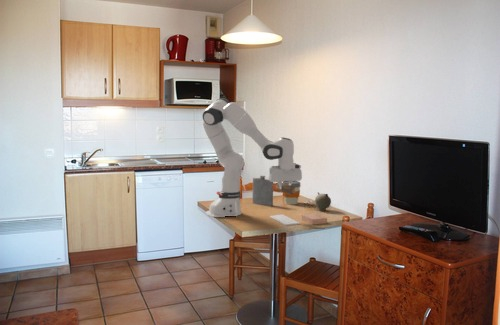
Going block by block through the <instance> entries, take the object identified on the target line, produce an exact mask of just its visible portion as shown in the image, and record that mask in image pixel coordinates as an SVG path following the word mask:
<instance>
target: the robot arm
mask: <svg viewBox="0 0 500 325" xmlns="http://www.w3.org/2000/svg"><path fill="white" fill-rule="evenodd" d="M253 119H254V118H252V116H251V115H250V114H249V113H248V112H247V111H246V110H245V109H244V108H243V107H242V106H240V105H239V104H238V103H236V102H233V101H231V102H230V100H229V99H227V98H223V97H222V98H218V99H216V100H215V101H214V102H212V103H210V105H208V107H207V108H205V110H204V111H203V112H202V120H203V122H202V125H203V128H204V131H205V134H206V136H207V138H208V139H209V142H210V143H211V145H212V147H213V149H214V151H215V155H216V157H217V160H218V163H219V164H220V166H221V167H223V168H224V172H223V176H222V178H221V191H218V190H217V191H216V194H217V195H218V197H217V198H216V199H215V200H214V201H212V202H211V203H210V204H209V210H206V211H205V215H206V216H207V217H211V218H226V217H225V216H236V217H238V216H240V215H242V214H243V212H242V209H241V201H240V200H241V191H240V185H241V184H240V182H241V180H240V179H241V175H242V170H243V167H244V166H245V159H244V157H243V156H242V154H240V153H238V152H235V151H234V149H233V147H232V144H231V139H230V137H229V135H228V133H227V132H226V130H225V128H224V126H223V124H222V122H223V121H225V120H226V121H228V122H229V123H230V124H231V125H232V126H233V127H234V128H235V129H236V130H237V131H238V132H240V133H241V134H242V135H243V134H244V135H246V136H248V137H250V138H251V139H252V140H253V141H254V142H255V143H256V144H257V145H258V146H259V147H260V149H261V151H262V155H263V156H264V158H265V159H267V160H269V161H272V160H277V159H278V161H277V163H278V164H277V165H272V166H270V167H269V171H268V172H269V175H268V180H269V181H270V182H273V183H278V184H279V186H280V189H283V186H282V185H281V183H283V182H284V181H289V185H290V186H291V185H292V183H293V181H298V182H300V181H302V178H303V172H302V169H301V168H302V165H300V164H299V163H296V162H294V152H295V150H294V149H295V148H294V147H295V145H294V141H293V140H292V139H291V138H287V137H280V138H278V139H277V140H275V141H271V140H269V139H268V138H267V137H266V136H265V135H264V134H263V132H261V131H260V130H259V129H258V127H257V125H256V123H255V121H254V120H253Z"/></svg>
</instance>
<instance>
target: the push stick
mask: <svg viewBox="0 0 500 325" xmlns="http://www.w3.org/2000/svg"><path fill="white" fill-rule="evenodd" d="M281 185H282V186H283V189H280V186H279V184H278V182H275V190H276V191H279V192H282V193H283V192H284V193H287V194H289V195H291V194H295V187H293V186H290V185H287V184H284V183H283V182H282V183H281Z"/></svg>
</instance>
